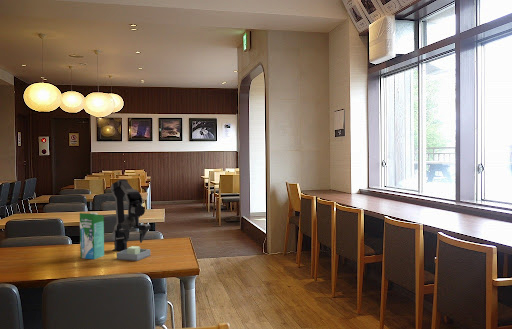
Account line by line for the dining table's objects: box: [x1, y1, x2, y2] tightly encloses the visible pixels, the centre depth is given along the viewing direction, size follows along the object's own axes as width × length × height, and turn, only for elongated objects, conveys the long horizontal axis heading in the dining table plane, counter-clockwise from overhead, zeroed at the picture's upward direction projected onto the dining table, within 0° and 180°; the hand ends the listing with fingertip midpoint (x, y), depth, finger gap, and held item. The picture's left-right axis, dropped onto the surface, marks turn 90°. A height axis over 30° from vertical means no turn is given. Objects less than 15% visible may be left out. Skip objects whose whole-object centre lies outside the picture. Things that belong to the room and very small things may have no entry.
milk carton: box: [79, 211, 105, 260], centre depth 258 cm, size 9×9×25 cm
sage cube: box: [127, 245, 141, 254], centre depth 257 cm, size 5×5×5 cm
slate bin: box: [116, 248, 151, 262], centre depth 257 cm, size 13×13×4 cm
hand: (133, 242), depth 256 cm, fingers open, 9 cm apart
